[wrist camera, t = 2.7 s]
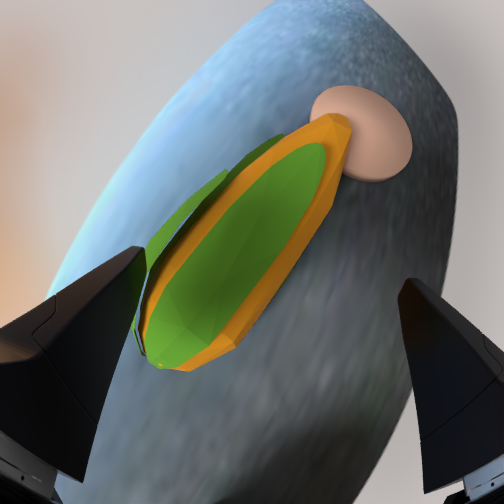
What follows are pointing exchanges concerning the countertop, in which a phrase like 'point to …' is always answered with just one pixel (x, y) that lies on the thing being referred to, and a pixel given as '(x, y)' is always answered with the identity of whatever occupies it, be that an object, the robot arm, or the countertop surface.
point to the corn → (237, 244)
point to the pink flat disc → (368, 132)
